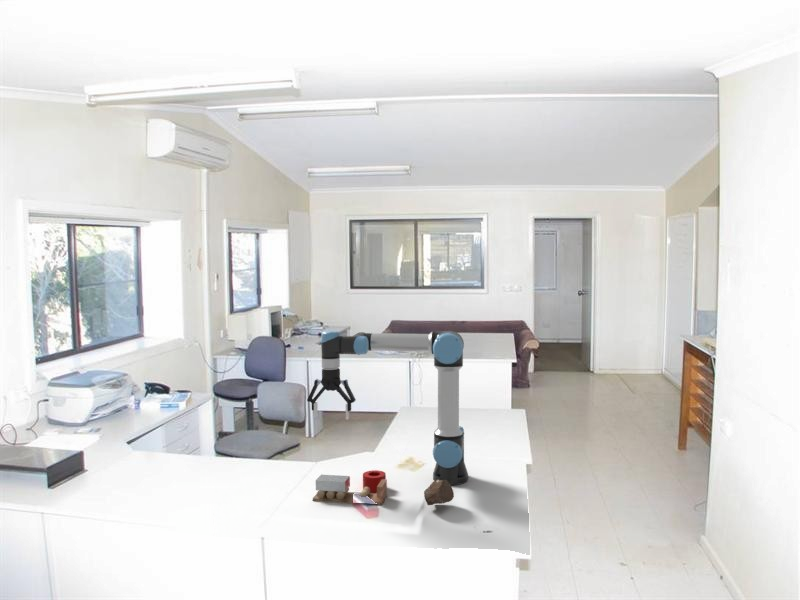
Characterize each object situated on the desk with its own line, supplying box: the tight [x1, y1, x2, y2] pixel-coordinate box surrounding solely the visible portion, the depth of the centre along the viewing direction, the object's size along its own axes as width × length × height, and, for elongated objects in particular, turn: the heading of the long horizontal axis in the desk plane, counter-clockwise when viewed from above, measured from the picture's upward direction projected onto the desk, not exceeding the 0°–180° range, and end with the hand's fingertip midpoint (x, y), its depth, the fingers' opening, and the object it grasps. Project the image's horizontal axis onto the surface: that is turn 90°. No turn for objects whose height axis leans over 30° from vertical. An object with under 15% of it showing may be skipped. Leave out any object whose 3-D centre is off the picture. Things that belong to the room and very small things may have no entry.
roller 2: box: [336, 487, 350, 500], centre depth 245 cm, size 8×3×3 cm, turn 169°
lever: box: [362, 469, 387, 494], centre depth 258 cm, size 18×9×7 cm, turn 18°
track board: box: [312, 478, 388, 506], centre depth 244 cm, size 28×9×7 cm, turn 79°
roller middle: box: [326, 491, 337, 499], centre depth 245 cm, size 8×3×3 cm, turn 169°
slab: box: [315, 474, 351, 492], centre depth 245 cm, size 12×7×4 cm, turn 79°
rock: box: [423, 480, 455, 506], centre depth 237 cm, size 12×10×10 cm
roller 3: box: [359, 487, 370, 497], centre depth 243 cm, size 8×3×3 cm, turn 169°
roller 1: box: [316, 490, 328, 498], centre depth 246 cm, size 8×3×3 cm, turn 169°
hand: (331, 418), depth 258 cm, fingers open, 13 cm apart
